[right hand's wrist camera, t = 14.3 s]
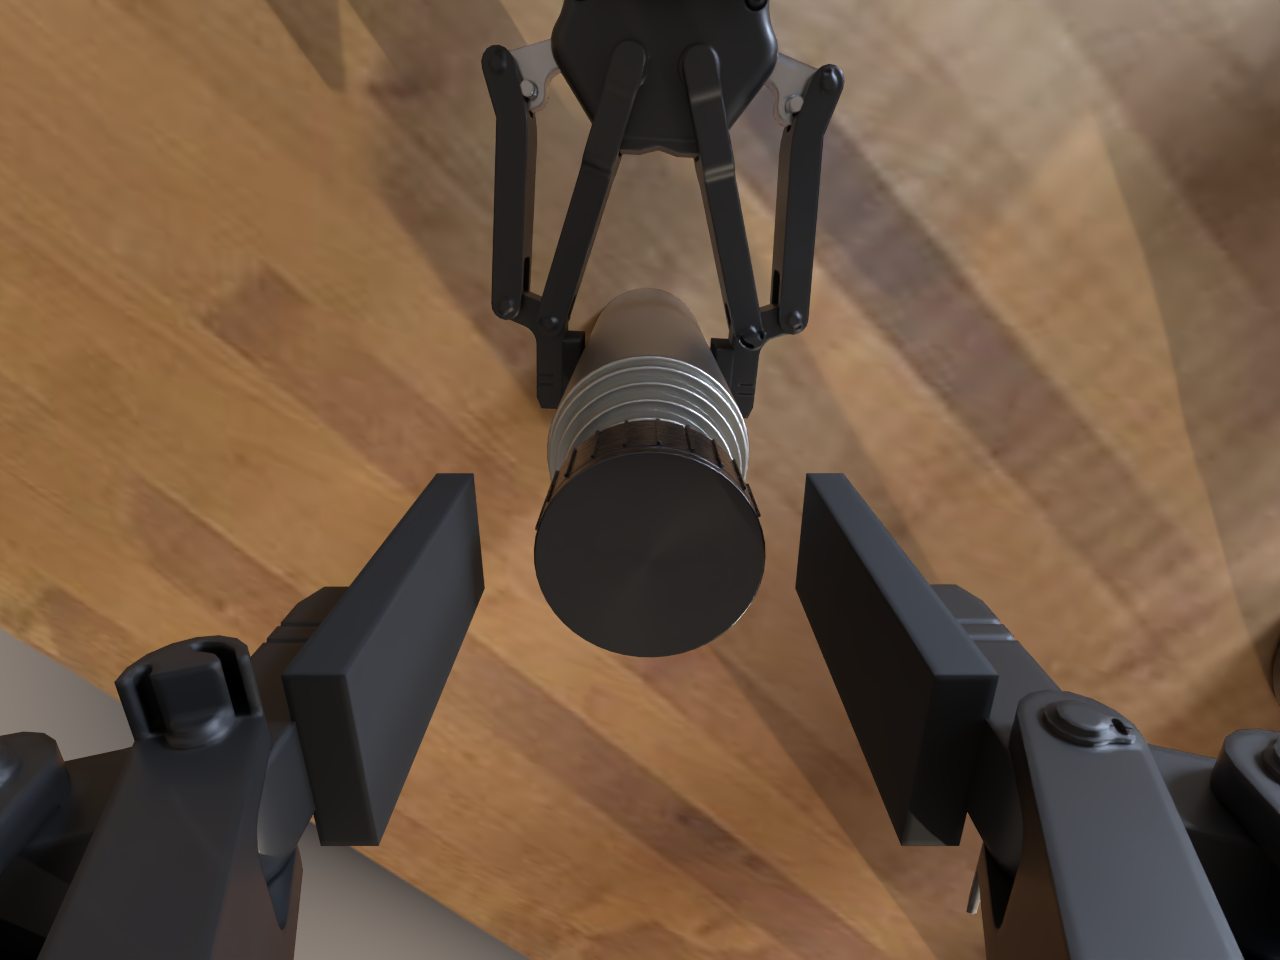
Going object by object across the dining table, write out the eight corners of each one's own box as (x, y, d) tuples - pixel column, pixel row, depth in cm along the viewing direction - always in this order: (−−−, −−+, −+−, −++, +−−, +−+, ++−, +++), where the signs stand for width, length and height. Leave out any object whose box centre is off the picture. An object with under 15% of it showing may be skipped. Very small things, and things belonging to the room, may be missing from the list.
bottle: (717, 311, 36) (840, 475, 13) (676, 411, 38) (723, 700, 15) (613, 271, 35) (559, 371, 13) (577, 375, 37) (475, 621, 15)
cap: (786, 458, 15) (808, 497, 13) (703, 628, 17) (712, 687, 15) (585, 385, 14) (575, 413, 12) (520, 568, 16) (502, 620, 14)
